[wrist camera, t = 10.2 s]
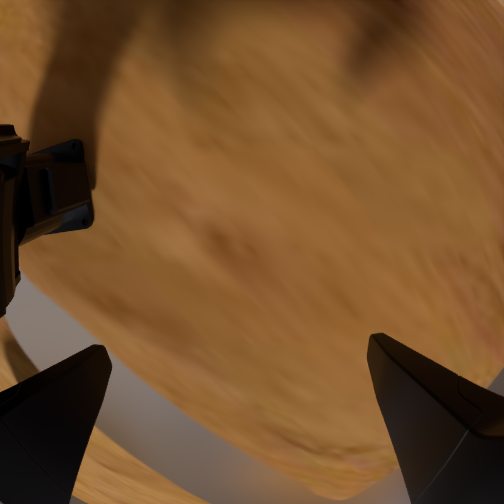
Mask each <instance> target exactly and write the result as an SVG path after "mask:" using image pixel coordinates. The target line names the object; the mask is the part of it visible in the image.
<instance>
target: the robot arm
mask: <svg viewBox="0 0 504 504" xmlns="http://www.w3.org/2000/svg"><path fill="white" fill-rule="evenodd" d="M76 143H77V148H76V149H75V144H76ZM29 145H30V141H28V140H23V139H22V137H19V136H18V135H16V132H15V129H14V126H13V125H10V124H0V318H1V317H3V316H4V315H5V314H6V307H7V306H8V305H9V303H10V302H11V300H12V299H13V297H14V293H15V288H16V286H17V284H18V283H19V282H20V280H21V275H20V271H19V252H18V247H19V246H21V245H23V244H26V243H28V242H30V241H32V240H34V239H36V238H38V237H40V236H42V235H47V234H53V233H60V232H67V231H74V230H81V229H87V228H89V227H91V226H92V224H93V218H92V212H91V207H90V200H89V199H90V195H89V188H88V181H87V173H86V165H85V163H84V153H83V143H82V141H81V140H80V139H73V140H70V141H67V142H64V143H61V144H58V145H55V146H52V147H49V148H46V149H44V150H41V151H38V152H36V153H33V154H29V155H26V153H27V151H28V150H29ZM85 219H86V220H87V224H86V223H85ZM367 362H368V366H369V370H370V374H371V378H372V382H373V386H374V391H375V395H376V399H377V402H378V404H379V407H380V410H381V413H382V415H383V418H384V421H385V424H386V427H387V430H388V432H389V435H390V438H391V441H392V444H393V447H394V450H395V453H396V456H397V459H398V462H399V465H400V468H401V472H402V475H403V478H404V481H405V484H406V488H407V491H408V495H409V498H410V501H411V504H504V397H503V396H501V395H499V394H496V393H494V392H491V391H489V390H487V389H485V388H483V387H480V386H478V385H477V384H475V383H473V382H471V381H469V380H467V379H465V378H463V377H462V376H458V374H456V373H454V372H452V371H451V370H449V369H447V368H445V367H443V366H442V365H440V364H438V363H436V362H434V361H432V360H431V359H429V358H427V357H425V356H423V355H422V354H420V353H418V352H416V351H415V350H413V349H411V348H409V347H407V346H406V345H404V344H402V343H400V342H398V341H397V340H395V339H393V338H391V337H389V336H388V335H386V334H384V333H376V334H371V335H370V338H369V344H368V351H367ZM111 371H112V363H111V360H110V358H109V355H108V353H107V350H106V348H105V347H104V346H103V345H97V344H94V345H91V346H90V347H88V348H86V349H84V350H82V351H80V352H78V353H76V354H74V355H72V356H70V357H69V358H67V359H65V360H63V361H61V362H59V363H57V364H55V365H53V366H51V367H49V368H47V369H45V370H44V371H41V372H40V373H38V374H36V375H34V376H32V377H30V378H28V379H26V380H24V381H22V382H20V383H18V384H16V385H14V386H12V387H10V388H8V389H6V390H4V391H2V392H0V504H69V502H70V499H71V495H72V491H73V488H74V485H75V481H76V478H77V475H78V472H79V468H80V465H81V462H82V459H83V456H84V453H85V450H86V447H87V444H88V441H89V439H90V436H91V433H92V430H93V427H94V425H95V422H96V419H97V416H98V414H99V411H100V409H101V406H102V403H103V400H104V396H105V392H106V389H107V385H108V381H109V378H110V374H111Z"/></svg>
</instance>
